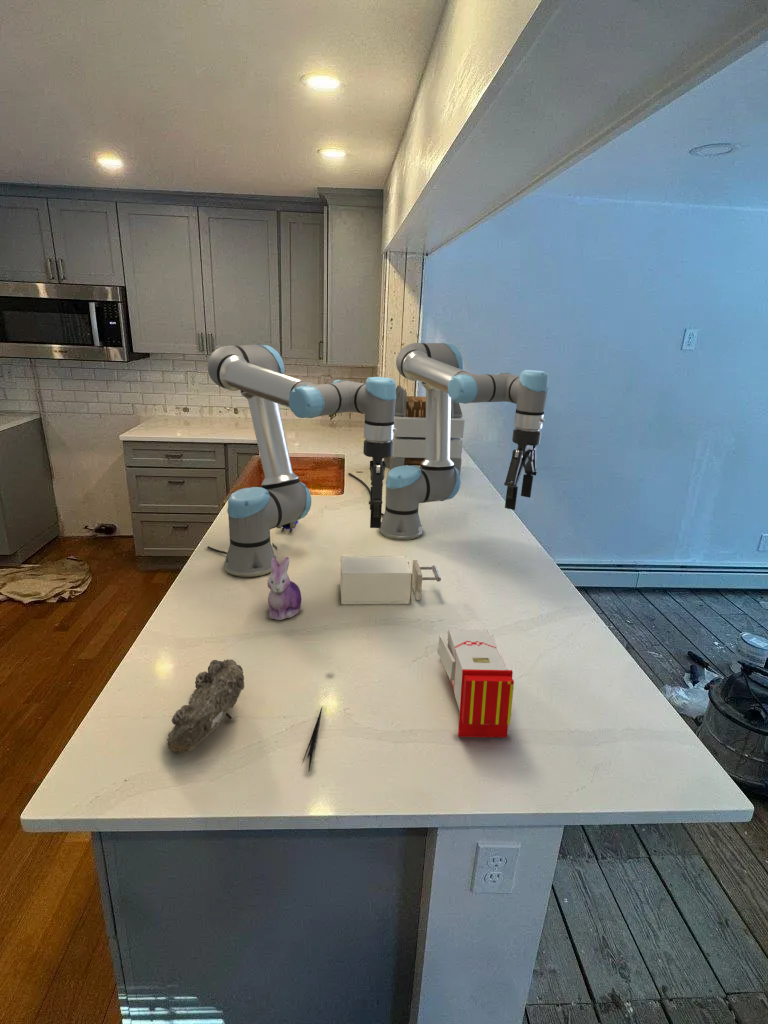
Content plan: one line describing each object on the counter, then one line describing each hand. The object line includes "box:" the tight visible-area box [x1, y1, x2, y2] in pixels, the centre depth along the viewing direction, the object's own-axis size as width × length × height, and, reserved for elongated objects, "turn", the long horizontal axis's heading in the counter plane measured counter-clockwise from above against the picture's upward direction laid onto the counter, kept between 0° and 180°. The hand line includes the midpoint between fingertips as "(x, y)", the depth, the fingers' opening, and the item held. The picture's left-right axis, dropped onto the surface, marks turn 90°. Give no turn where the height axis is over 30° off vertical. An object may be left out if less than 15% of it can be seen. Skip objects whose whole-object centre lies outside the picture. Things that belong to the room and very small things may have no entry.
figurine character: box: [276, 520, 299, 533], centre depth 200 cm, size 7×8×15 cm
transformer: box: [383, 384, 465, 476], centre depth 268 cm, size 34×33×41 cm
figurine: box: [267, 556, 302, 621], centre depth 143 cm, size 9×10×15 cm
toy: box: [437, 628, 515, 738], centre depth 117 cm, size 12×13×30 cm
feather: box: [301, 673, 332, 771], centre depth 108 cm, size 2×28×2 cm
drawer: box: [408, 559, 442, 601], centre depth 156 cm, size 23×10×7 cm, turn 95°
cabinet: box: [340, 555, 412, 605], centre depth 155 cm, size 18×11×9 cm, turn 95°
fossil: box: [166, 658, 245, 754], centre depth 106 cm, size 22×10×15 cm
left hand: (375, 518), depth 151 cm, fingers open, 13 cm apart
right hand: (517, 502), depth 162 cm, fingers open, 13 cm apart
